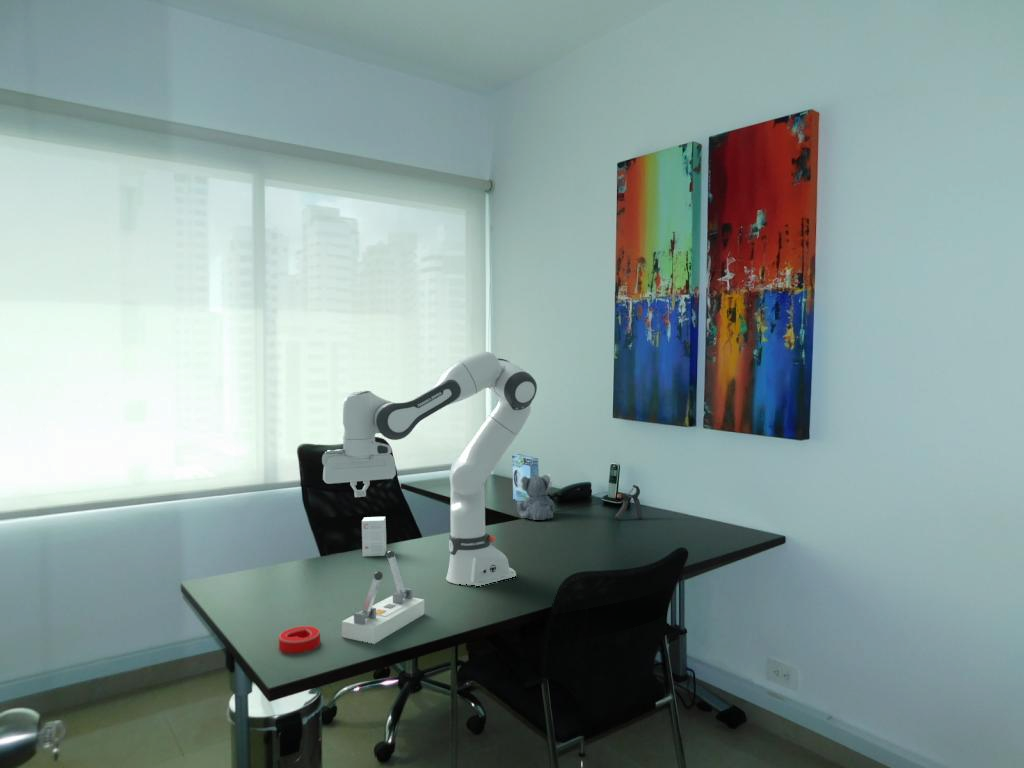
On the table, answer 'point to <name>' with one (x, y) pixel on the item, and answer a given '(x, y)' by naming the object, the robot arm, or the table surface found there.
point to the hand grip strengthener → (626, 500)
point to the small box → (374, 536)
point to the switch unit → (383, 618)
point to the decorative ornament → (299, 639)
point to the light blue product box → (522, 473)
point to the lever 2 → (396, 574)
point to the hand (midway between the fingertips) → (360, 496)
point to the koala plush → (536, 498)
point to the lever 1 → (372, 594)
